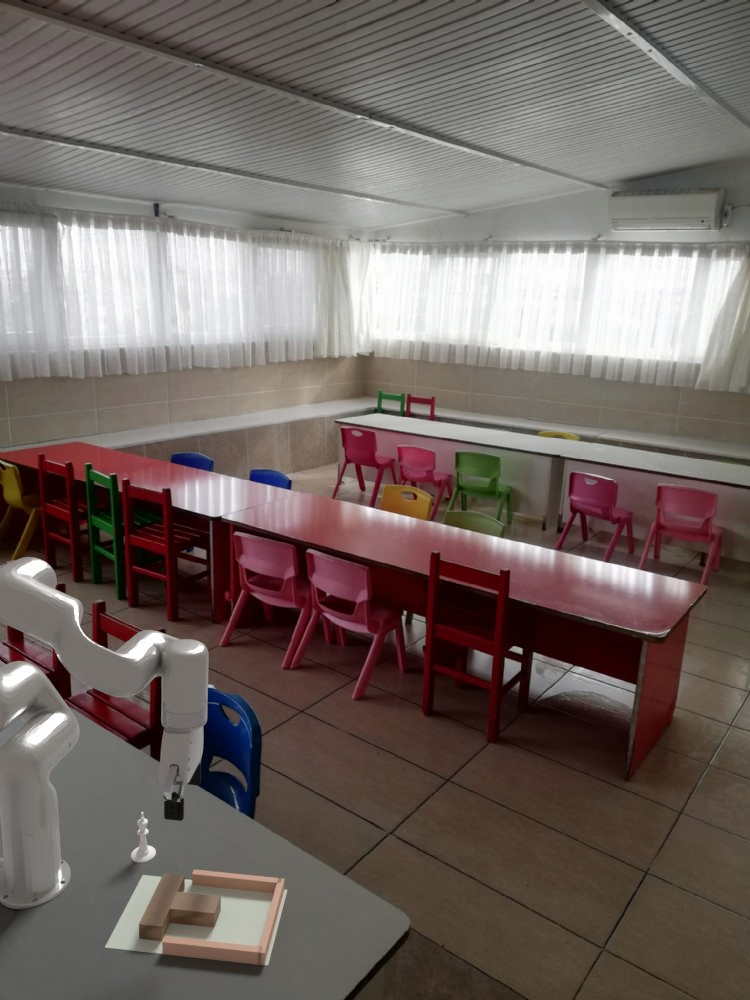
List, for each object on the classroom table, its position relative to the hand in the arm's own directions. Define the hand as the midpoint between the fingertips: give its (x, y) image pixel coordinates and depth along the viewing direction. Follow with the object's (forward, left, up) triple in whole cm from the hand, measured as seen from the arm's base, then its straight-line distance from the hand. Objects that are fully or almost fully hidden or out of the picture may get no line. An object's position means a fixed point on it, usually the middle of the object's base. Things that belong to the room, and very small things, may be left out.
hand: (183, 800), depth 130 cm
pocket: (+8, -2, -22) cm, 24 cm away
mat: (+4, -2, -23) cm, 23 cm away
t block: (+1, -2, -22) cm, 22 cm away
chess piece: (-12, +12, -23) cm, 29 cm away
